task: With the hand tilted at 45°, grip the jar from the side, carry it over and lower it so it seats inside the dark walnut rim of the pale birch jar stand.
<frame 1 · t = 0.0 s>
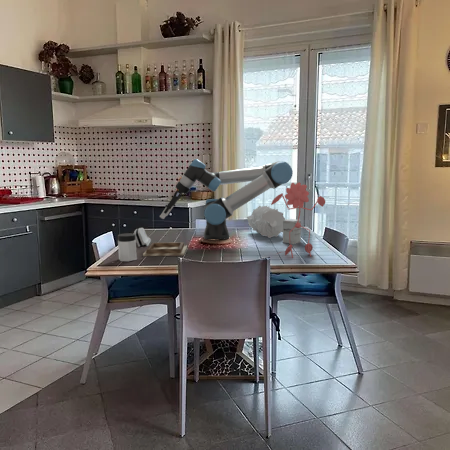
hand: (163, 216, 242), 15 cm above the table, tool tilted 35°, fingers open, 13 cm apart
jar: (127, 259, 207), on the table
jar stand: (166, 251, 223), on the table
grey rounded scaly piece: (266, 235, 263), on the table
supplement box: (291, 242, 240), on the table
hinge: (142, 244, 245), on the table
figurine: (296, 254, 212), on the table
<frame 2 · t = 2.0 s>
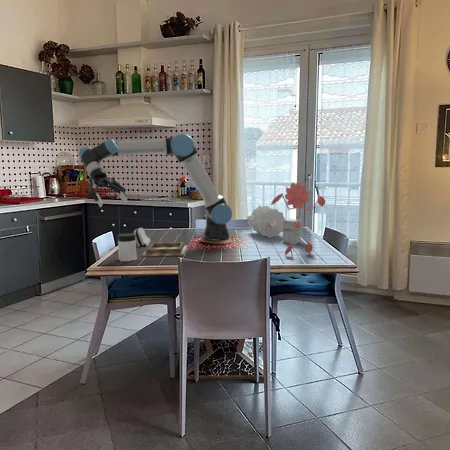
hand: (114, 204, 213), 26 cm above the table, tool tilted 45°, fingers open, 13 cm apart
nothing on the table moved.
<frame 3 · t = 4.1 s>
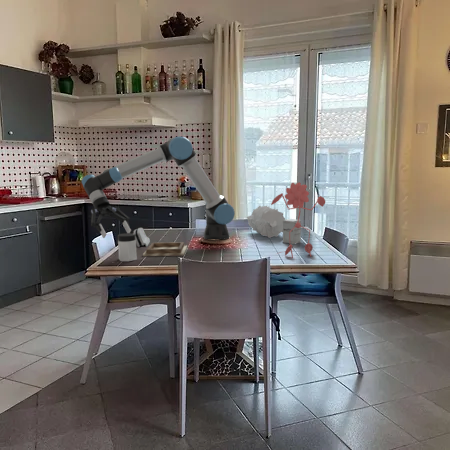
hand: (117, 234, 210), 12 cm above the table, tool tilted 45°, fingers open, 13 cm apart
nothing on the table moved.
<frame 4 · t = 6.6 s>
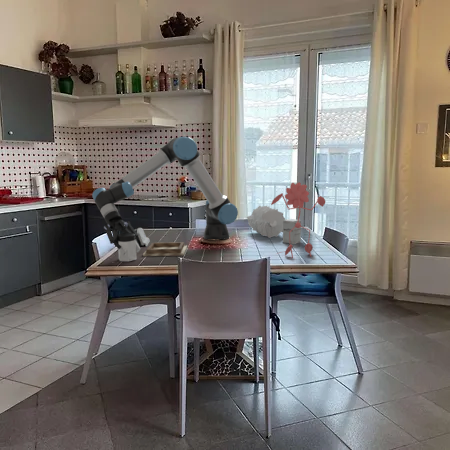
hand: (131, 252, 204), 4 cm above the table, tool tilted 45°, fingers closed on jar, 7 cm apart
jar: (127, 259, 207), on the table, touching gripper
everything else where it was.
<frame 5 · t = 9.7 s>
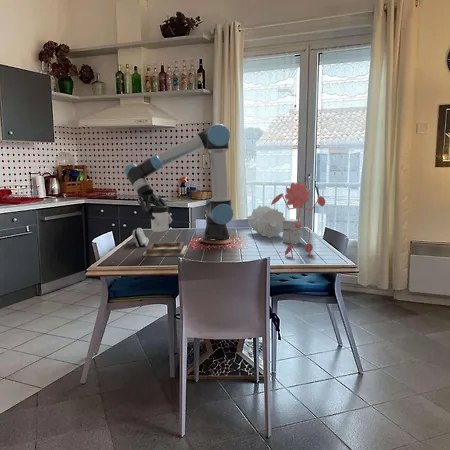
hand: (164, 222, 217), 15 cm above the table, tool tilted 45°, fingers closed on jar, 7 cm apart
jar: (160, 230, 220), point 11 cm above the table, touching gripper
everything else where it was.
when the fingers open (6 cm above the table, at t = 12.5 s): jar drops 1 cm, resting on jar stand.
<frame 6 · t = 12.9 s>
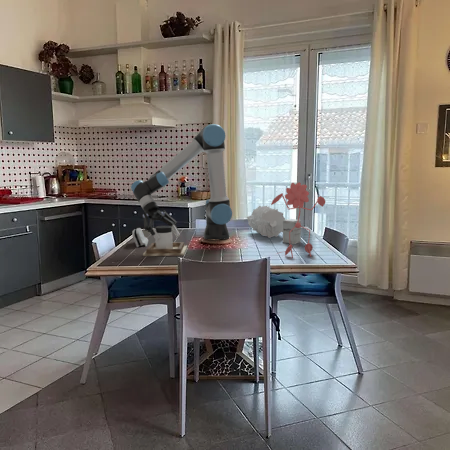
hand: (168, 237, 220), 7 cm above the table, tool tilted 45°, fingers open, 12 cm apart
jar: (164, 250, 222), point 1 cm above the table, touching jar stand
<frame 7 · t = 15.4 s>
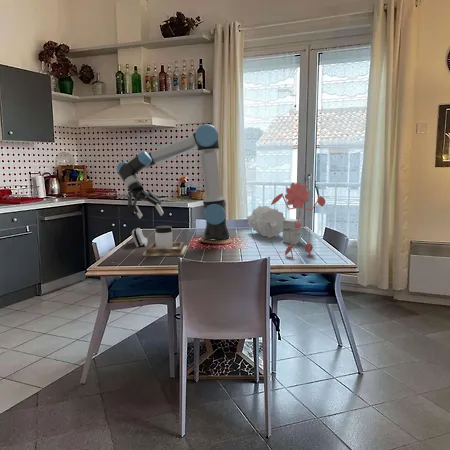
hand: (152, 215, 228), 18 cm above the table, tool tilted 45°, fingers open, 13 cm apart
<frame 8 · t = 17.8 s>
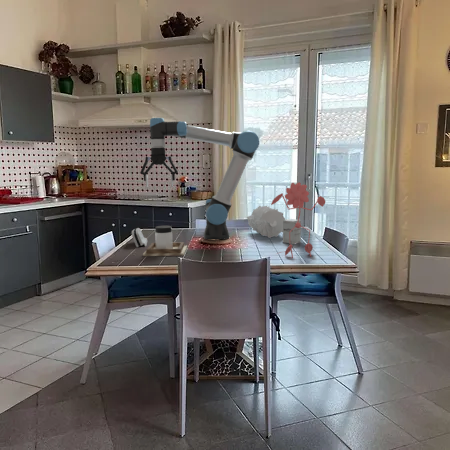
hand: (159, 186, 238), 32 cm above the table, tool pointing down, fingers open, 13 cm apart
at the end: jar 1.1 cm off-centre on the jar stand, point 0.8 cm above the jar stand's base; jar tilted 0°; the gripper is holding nothing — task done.
